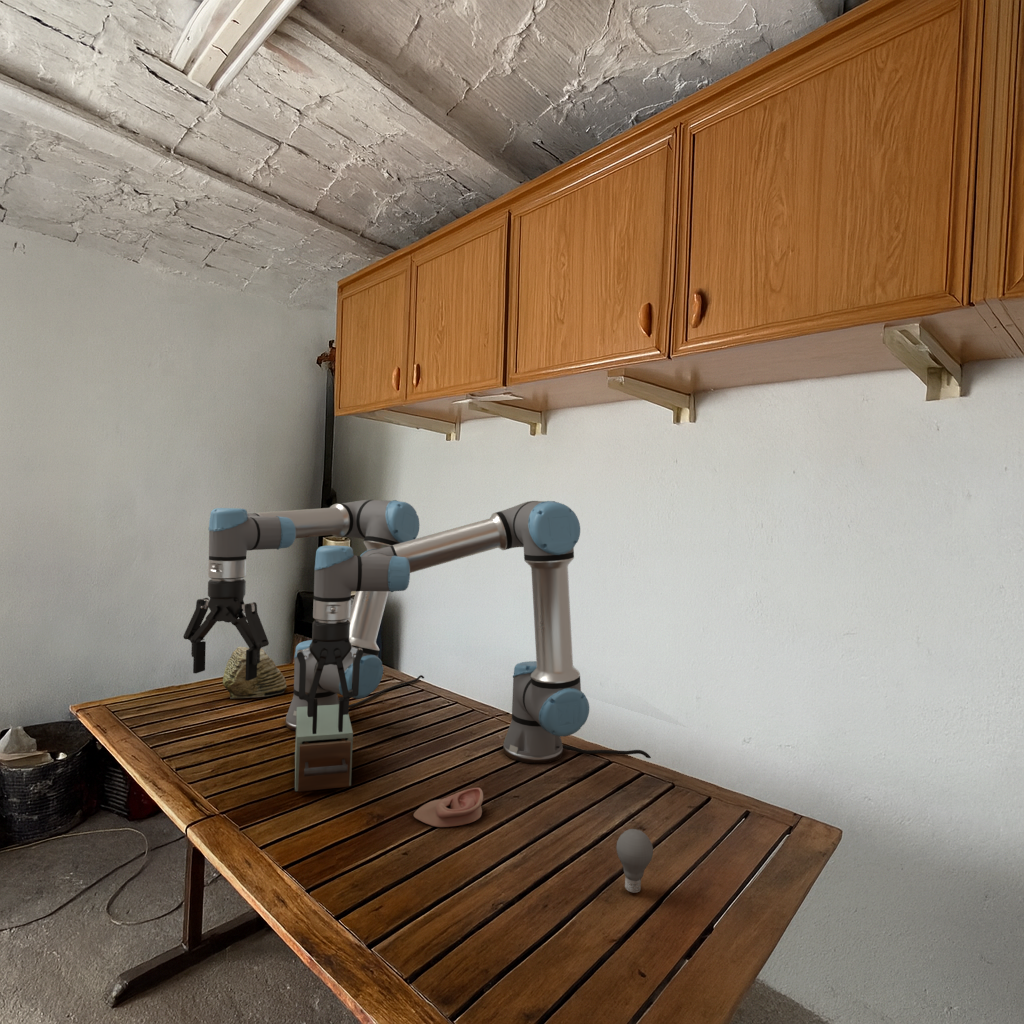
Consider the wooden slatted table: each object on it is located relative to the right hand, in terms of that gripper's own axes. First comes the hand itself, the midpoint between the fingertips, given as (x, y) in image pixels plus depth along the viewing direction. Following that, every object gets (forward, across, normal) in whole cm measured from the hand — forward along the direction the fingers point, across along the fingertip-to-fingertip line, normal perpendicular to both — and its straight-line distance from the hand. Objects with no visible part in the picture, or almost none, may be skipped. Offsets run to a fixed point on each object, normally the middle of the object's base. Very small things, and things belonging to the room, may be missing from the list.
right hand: (327, 730), depth 133 cm
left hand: (-9, -21, +14) cm, 27 cm away
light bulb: (+14, +48, -45) cm, 67 cm away
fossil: (+14, -18, +75) cm, 79 cm away
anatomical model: (+14, +24, -13) cm, 31 cm away
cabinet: (+14, 0, +15) cm, 21 cm away
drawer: (+13, 0, +9) cm, 16 cm away
